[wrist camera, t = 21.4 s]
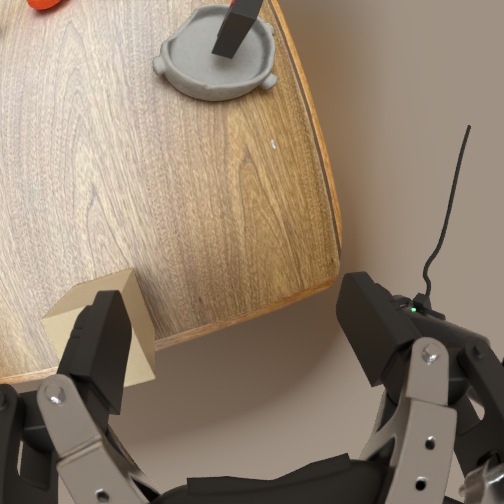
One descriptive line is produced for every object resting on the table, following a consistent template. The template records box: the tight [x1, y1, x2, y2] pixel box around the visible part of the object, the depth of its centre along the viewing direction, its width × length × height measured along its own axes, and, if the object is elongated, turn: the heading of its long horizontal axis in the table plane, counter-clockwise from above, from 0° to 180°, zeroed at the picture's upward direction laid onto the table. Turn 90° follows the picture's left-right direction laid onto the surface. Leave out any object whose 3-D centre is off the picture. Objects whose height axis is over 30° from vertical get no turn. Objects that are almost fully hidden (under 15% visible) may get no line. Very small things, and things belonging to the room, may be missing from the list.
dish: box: [153, 3, 278, 101], centre depth 26 cm, size 14×14×5 cm
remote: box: [211, 0, 263, 59], centre depth 20 cm, size 3×5×8 cm, turn 168°
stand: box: [41, 268, 156, 387], centre depth 24 cm, size 8×8×11 cm
